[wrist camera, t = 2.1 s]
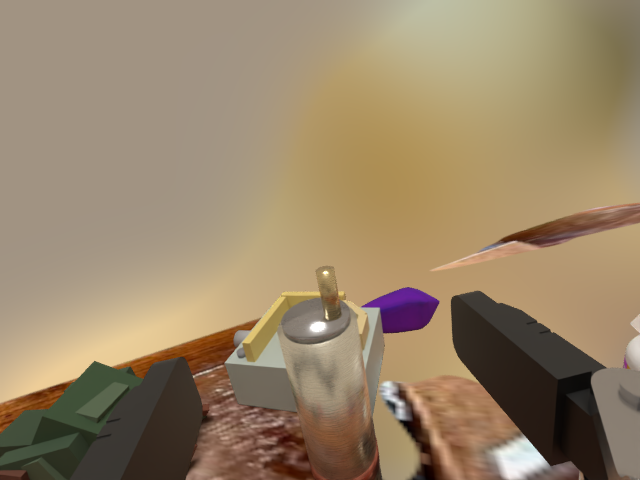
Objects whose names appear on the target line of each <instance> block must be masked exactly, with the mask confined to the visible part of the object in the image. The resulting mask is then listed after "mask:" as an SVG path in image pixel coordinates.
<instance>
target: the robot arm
mask: <svg viewBox="0 0 640 480" xmlns="http://www.w3.org/2000/svg"><path fill="white" fill-rule="evenodd" d="M451 315H452V335H453V336H452V337H453V344H454V348H455V350H456V353H457V355H458V357H459V358H460V360H461V361H462V362H463V363H464V365H465V366H466V367H467V368H468V370H470V372H471V373H472V374H473V375H474V377H476V379H477V380H478V381H479V382H480V384H481V385H482V386H483V387H484V388H485V389H486V391H487V392H488V393H489V394H490V395H491V396H492V398H493V399H494V400H495V401H496V402H497V404H498V405H499V406H500V407H501V408H502V409H503V411H504V412H505V413H506V414H507V415H508V416H509V418H510V419H511V420H512V421H513V422H514V423H515V425H516V426H517V427H518V428H519V429H520V430H521V432H522V433H523V434H524V435H525V436H526V438H527V439H528V440H529V441H530V442H531V443H532V445H533V446H534V447H535V448H536V449H537V450H538V452H539V453H540V454H541V455H542V456H543V457H544V459H545V460H546V461H547V462H548V463H549V464H550V466H553V465H557V464H560V463H564V462H568V461H571V462H572V463H573V464H574V465H575V466H576V467H577V468H578V469H579V470H580V475H579V480H640V371H636V370H631V369H625V368H606V367H605V366H603V365H602V364H600V363H599V362H597V361H596V360H594V359H593V358H591V357H590V356H588V355H587V354H585V353H584V352H582V351H581V350H580V349H578V348H576V347H575V346H573V345H572V344H570V343H569V342H568V341H566V340H565V339H563V338H562V337H560V336H559V335H557V334H556V333H554V332H553V333H552V332H551V331H550V329H548V328H547V327H545V326H544V325H542V324H541V323H537V321H536V320H535V319H533V318H532V317H530V316H528V315H527V314H526V313H525V312H523V311H522V310H519V309H517V308H514V307H511V306H508V305H506V304H503V303H499V304H498V303H496V302H495V301H494V300H492V299H491V298H489V297H488V296H487V295H485V294H484V293H482V292H481V291H474V292H470V293H465V294H461V295H456V296H454V297H452V299H451ZM201 422H202V402H201V398H200V395H199V393H198V390H197V387H196V385H195V382H194V379H193V376H192V374H191V371H190V368H189V366H188V363H187V361H186V359H185V358H184V357H178V358H174V359H169V360H165V361H161V362H156V363H154V364H152V366H151V367H150V369H149V371H148V372H147V374H146V376H145V377H144V379H143V381H142V383H141V384H140V385H139V386H135V387H134V388H133V389H132V390H131V391H130V392H129V393H128V394H127V395H125V396H124V397H123V398H122V399H121V400H120V401H119V402H118V403H117V405H116V406H115V408H114V410H113V411H112V413H111V414H110V416H109V418H108V419H107V421H106V425H104V426H103V427H102V429H101V430H100V432H99V434H98V435H97V437H96V441H94V442H93V443H92V445H91V446H90V448H89V449H88V451H87V453H86V454H85V456H84V457H83V459H82V461H81V462H80V464H79V465H78V467H77V469H76V470H75V472H74V473H73V475H72V476H71V478H70V480H185V479H186V476H187V472H188V469H189V465H190V461H191V458H192V454H193V451H194V447H195V444H196V440H197V436H198V433H199V429H200V426H201Z"/></svg>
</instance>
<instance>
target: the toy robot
mask: <svg viewBox="0 0 640 480" xmlns="http://www.w3.org/2000/svg"><path fill="white" fill-rule="evenodd" d="M142 381H143V379H142V378H139V377H136V375H135V374H134V372H133V370H132V368H131V367H126V368H122V369H119V370H117V369H115V368H112V367H109V366H107V365H104V364H101V363H99V362H96V361H94V362H93V363H92V364H91V365H90V366H89V367H88V368H87V369H86V370H85V372H84V373H83V374H82V375H81V376H80V377H79V378H78V379H77V380H76V381H75V382H72V384H71V385H70V386H69V387H68V388H67V389H66V390H65V391H64V394H63V395H62V396H61V397H60V398H59V399H58V400H57V401H56V402H55V403H54V404H53V405H52V406H51V407H50V408H49V409H43V410H25V411H24V412H23V413H22V414H21V415H20V416H19V417H18V418H16V419H15V420H14V421H13V422H12V423H11V424H10V425H9V426H8V427H7V428H6V429H5V430H4V431H3V432H2V433H1V434H0V480H70V478H71V476H72V475H73V473H74V472H75V470H76V469H77V467H78V465H79V464H80V462H81V461H82V459H83V457H84V456H85V454H86V453H87V451H88V449H89V448H90V446H91V445H92V443H93V442H94V441H96V437H97V435H98V434H99V432H100V430H101V429H102V427H103V426H104V425H106V421H107V419H108V418H109V416H110V414H111V413H112V411H113V410H114V408H115V406H116V405H117V403H118V402H119V401H120V400H121V399H122V398H123V397H124V396H125V395H127V394H128V393H129V392H130V391H131V390H132V389H133V388H134V387H135V386H139V385H140V384H141V383H142ZM208 411H209V404H203V405H202V419H204V418H206V415H207V413H208ZM196 447H197V445H196V444H195V447H194V451H193V454H194V452H195V449H196ZM193 454H192V456H193ZM191 459H192V458H191ZM190 463H191V462H190Z"/></svg>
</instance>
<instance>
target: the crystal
mask: <svg viewBox="0 0 640 480" xmlns="http://www.w3.org/2000/svg"><path fill="white" fill-rule="evenodd" d="M438 304H439V301H438V300H437V299H435V298H434V297H431V296H430V295H428V294H426V293H424V292H422V291H420V290H418V289H414V288H409V287H407V288H402V289H399V290H397V291H394V292H392V293H389V294H386V295H384V296H381V297H379V298H377V299H375V300H373V301H371V302H369V303H367V304H365V305H364V306H362V308H380V314H381V322H382V329H383V333H399V332H406V331H412V330H419V329H421V328H423V327H425V326H426V325H427V324H428V323H429V322H430V320H431V318H432V316H433V314H434V312H435V310H436V308H437V306H438Z"/></svg>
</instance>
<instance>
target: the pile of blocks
mask: <svg viewBox="0 0 640 480" xmlns="http://www.w3.org/2000/svg"><path fill="white" fill-rule="evenodd" d="M630 324H631V325H632V326H633V327H634V328H635V329H636V330H637V331H638V332H639V333H640V314H639V315H638V316H637V317H636V318H635V319H634V320H633V321H632V322H631V323H630Z"/></svg>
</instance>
